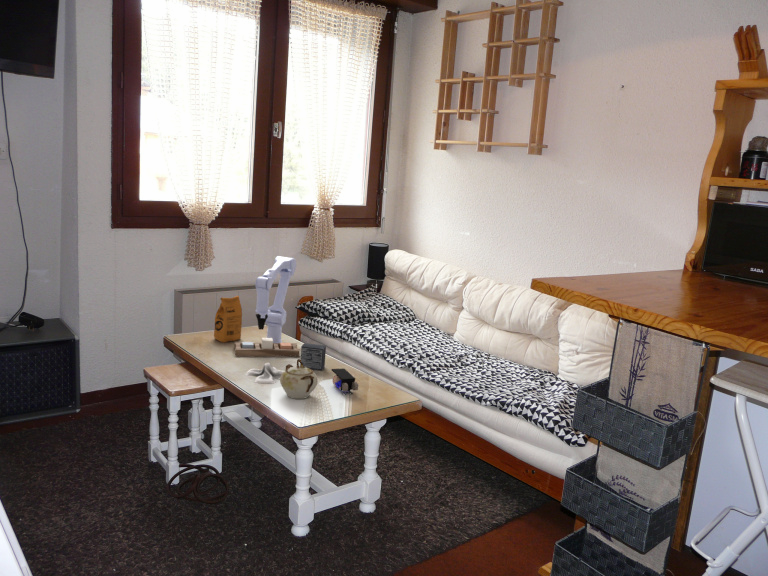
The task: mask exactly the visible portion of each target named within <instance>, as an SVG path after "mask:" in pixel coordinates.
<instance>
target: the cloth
mask: <svg viewBox="0 0 768 576" xmlns="http://www.w3.org/2000/svg"><path fill="white" fill-rule="evenodd" d="M284 371H285V370H280V369H277V367H274V366H272V365H271V363H270V362H265V363H264V364H263V366H262V368H261V369H259V368H251V369H248V371H246V373H245V376H246V377H249V376H254V377H255V380H254V383H255V384H277V383H276V381H275V380H274V379H275V378H277V380H278V381H280V377H281V375H282V373H283V372H284Z"/></svg>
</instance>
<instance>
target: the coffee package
mask: <svg viewBox="0 0 768 576" xmlns="http://www.w3.org/2000/svg"><path fill="white" fill-rule="evenodd" d="M220 301H221V302H220V305H219V308H218V309H217V311H216V314H215V317H214V329H213V330H214V332H213V338H214V339H215V340H217V341H218V342H220V343H227V342H237V341H240V340H241V338H242V325H243V322H242V321H243V318H242V317H243V309H242V305H241V300H240V296H239V295H235V296H233V297H220Z"/></svg>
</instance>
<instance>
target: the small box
mask: <svg viewBox="0 0 768 576" xmlns="http://www.w3.org/2000/svg"><path fill="white" fill-rule="evenodd" d="M300 349H301V350H300V360H301V362H302V363H303V366H304V367H307V368H309V369H311V370H313V371H321V372H322V371H323V370H324V368H325V365H326V353H327V352H326V350H327V345H323V344H314V343H306V342H304V343H303V344H302V345H301V348H300ZM299 366H301V364H300V363H299Z"/></svg>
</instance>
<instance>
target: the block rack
mask: <svg viewBox="0 0 768 576" xmlns="http://www.w3.org/2000/svg"><path fill="white" fill-rule="evenodd" d="M242 342H243V341H242ZM242 342H240V341H238V342H237V341H234V348H233V349H234V356H235V357H241V356H243V357H245V356H247V357H289V356H290V357H296V358H297V357H300V354H301V350H300V349H299V348H298V344H297V343H294V342H293V343H292V342H290V343H291V345H292V348H291V349H280V343H273V349H262V347H261V342H253V344H254V347H253V349H250V348H242Z"/></svg>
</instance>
